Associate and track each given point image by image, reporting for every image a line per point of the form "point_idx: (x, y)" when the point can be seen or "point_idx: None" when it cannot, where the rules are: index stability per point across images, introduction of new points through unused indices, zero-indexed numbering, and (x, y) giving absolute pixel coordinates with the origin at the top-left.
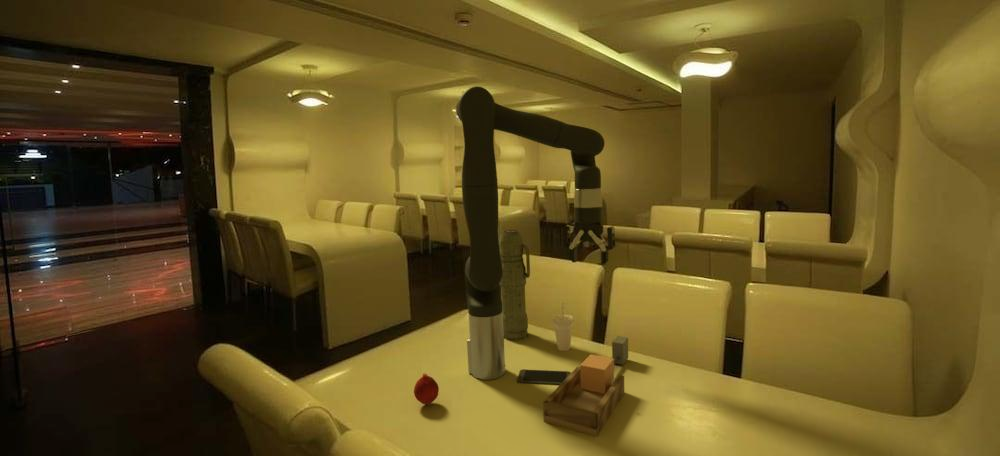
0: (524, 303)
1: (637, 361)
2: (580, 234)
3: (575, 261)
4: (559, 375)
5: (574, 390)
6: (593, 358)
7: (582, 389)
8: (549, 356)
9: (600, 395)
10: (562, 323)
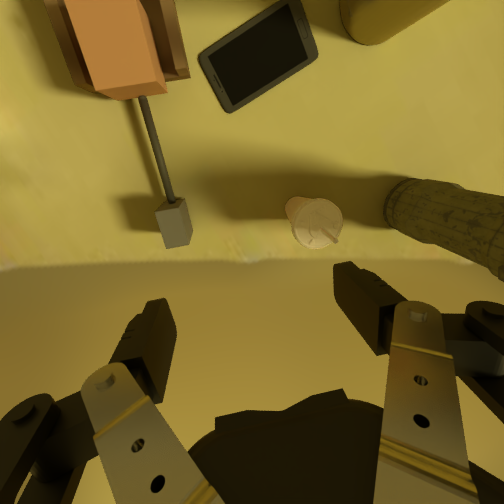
0: (440, 233)
1: (157, 235)
2: (413, 476)
3: (335, 279)
4: (236, 81)
5: (157, 5)
6: (134, 58)
7: None
8: (301, 158)
9: None
10: (307, 202)
